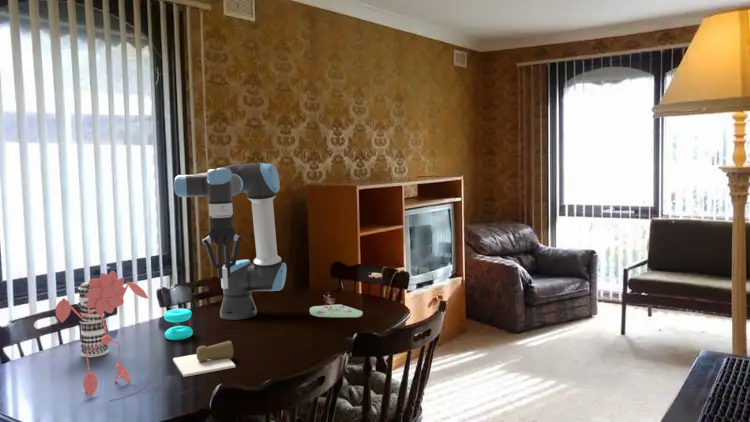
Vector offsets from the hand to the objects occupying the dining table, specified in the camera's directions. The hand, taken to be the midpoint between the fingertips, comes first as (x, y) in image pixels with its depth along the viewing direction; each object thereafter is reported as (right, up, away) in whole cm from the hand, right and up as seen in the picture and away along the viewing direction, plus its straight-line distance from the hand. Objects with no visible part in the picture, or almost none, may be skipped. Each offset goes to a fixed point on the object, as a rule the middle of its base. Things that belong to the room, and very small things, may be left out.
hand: (224, 287), depth 201 cm
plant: (+33, -19, +61) cm, 72 cm away
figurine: (-26, -27, -24) cm, 45 cm away
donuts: (-24, -22, +29) cm, 44 cm away
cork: (+1, -21, +3) cm, 21 cm away
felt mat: (-6, -24, -2) cm, 25 cm away
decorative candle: (-48, -25, +12) cm, 55 cm away
